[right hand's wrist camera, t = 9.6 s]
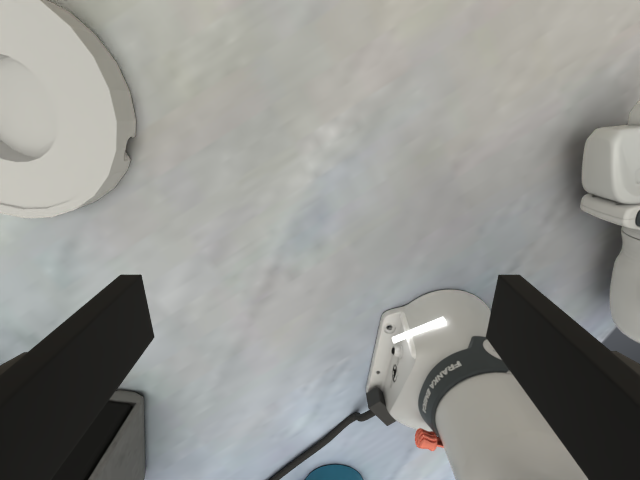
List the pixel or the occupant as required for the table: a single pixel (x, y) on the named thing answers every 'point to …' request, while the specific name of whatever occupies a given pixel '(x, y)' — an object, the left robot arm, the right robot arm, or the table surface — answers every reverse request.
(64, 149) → the ashtray
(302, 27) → the table surface
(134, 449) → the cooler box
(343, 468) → the camera mount
